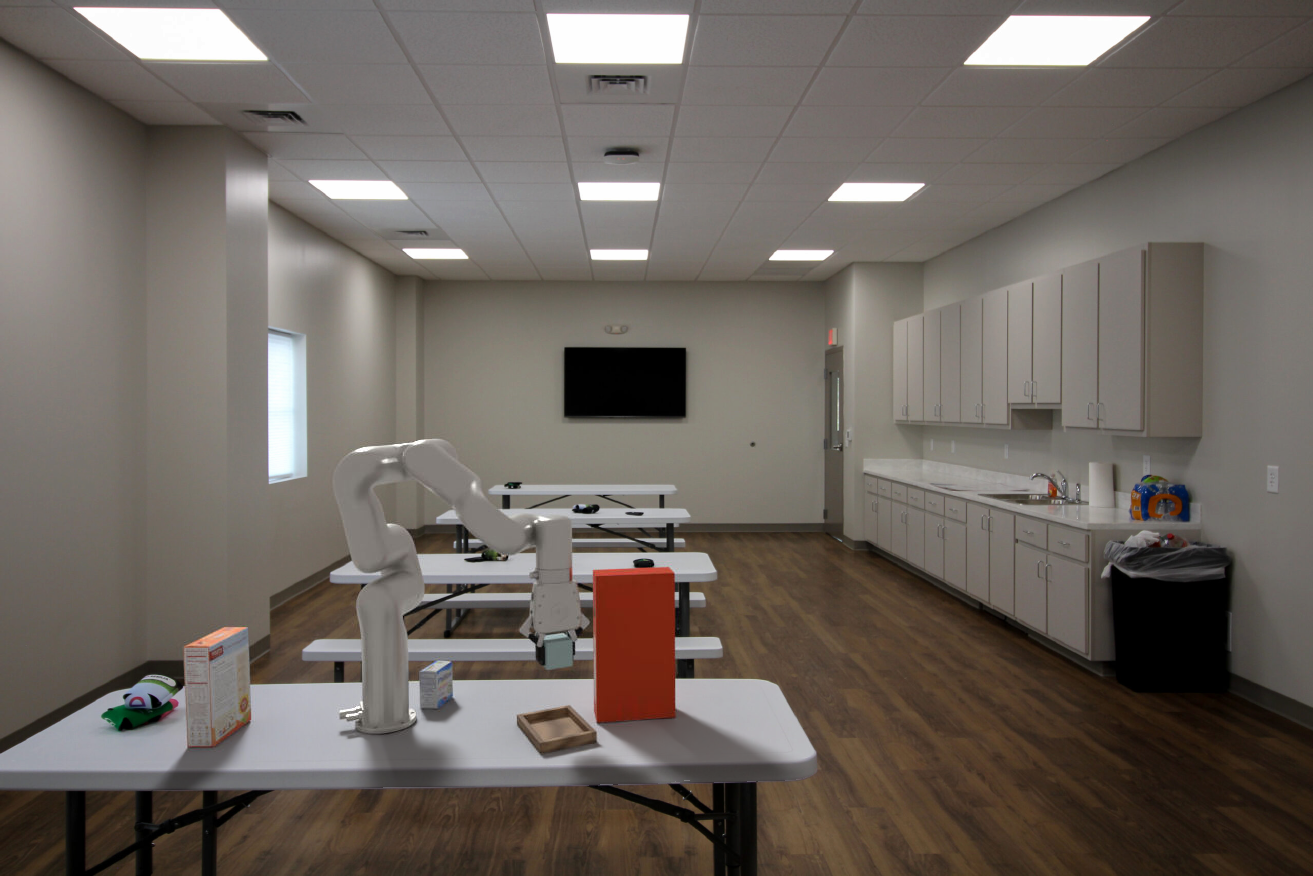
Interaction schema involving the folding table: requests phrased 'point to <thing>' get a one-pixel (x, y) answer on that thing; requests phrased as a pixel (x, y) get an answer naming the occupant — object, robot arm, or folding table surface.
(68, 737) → the folding table surface
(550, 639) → the teal cube
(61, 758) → the folding table surface
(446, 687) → the medicine box
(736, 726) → the folding table surface
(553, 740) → the walnut tray
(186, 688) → the cracker box
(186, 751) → the folding table surface
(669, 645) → the tall orange-red block
